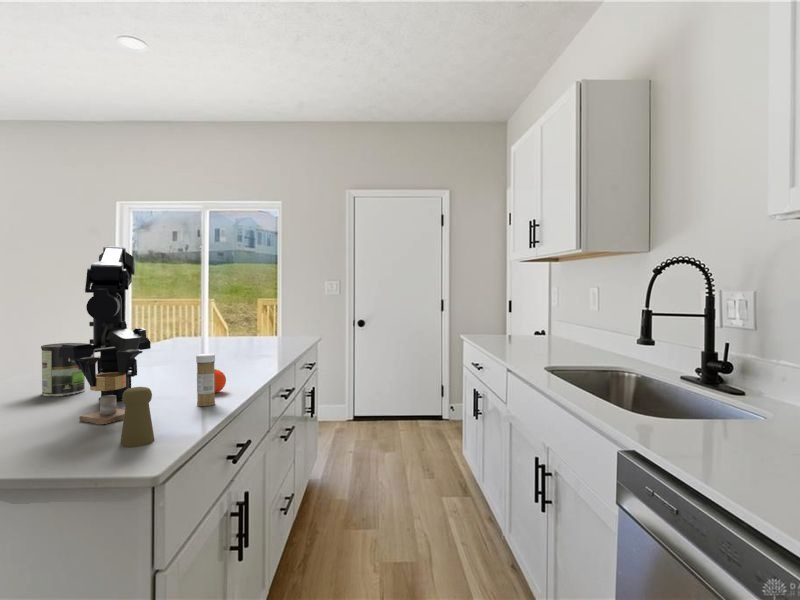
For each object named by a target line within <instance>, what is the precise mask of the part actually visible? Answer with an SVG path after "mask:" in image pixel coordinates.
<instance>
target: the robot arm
mask: <svg viewBox="0 0 800 600" xmlns="http://www.w3.org/2000/svg"><path fill="white" fill-rule="evenodd" d="M102 250H103V251H102V252H101V254H99V255H98V261H94V262H92V263H91V264H90V267H88V268H87V269H86V270H87V271H86V278H85V279H86V280H85V288H84V293H88V294H90V293H92V296H91V297H90V298H89V299H88V301H87V303H86V305H85V306H86V311H87V314H88V315H89V317H91V318H92V321H89V325H88V326H89V327H92V328H93V329H92V330H93V331H92V333H93V335H92V337H93V338H91V339H89V343H83V342H71V343H72V344H63V345H62V346H61V348H60V349H59V357H62V358H70V360H74V361H75V362H76V364H77V365H78V366H79V368H80V369H81V371H82V372H83V374H84V376H85V379H86V381H87V382H88V385H89V387H90V386H91V387H95V383H96V374H100V373H109V372H122V373H126V387H124V388H121V389H116V390H109V391H100V397H102V396H106V395H116V402H121V401H123V400H122V395H123V393H124V391H125V390H127V389H129V388H132V378H133V377H136V376H138V362H137V359H136V357H137V356H139V355H140V354H142V353H143V350H144V351H145V350H150V349H151V344H152V343H151V341H150V339H149V338H148V337H147V329H145V328H144V327H135V328H134V329H128V327H127V326H128V324H127V322H126V321H127V320H126V311H127V310H126V300H127V299H126V298H127V297H126V295H127V292H126V291H128V290H129V287H130V286H131V284H132V283H133V276H134V275H136V273H135V272H136V264H135V257H134V256H133V255H132V254H130V253H129V252H127V251H126V247H123V246H116V245H115V246H114V245H113V246H111V245H106V246H103V249H102ZM95 353H99V354H100V355H99V356H95ZM96 364H97V366H96ZM96 367H97V369H96ZM96 370H97V371H96ZM100 397H98V400H99V401H100Z"/></svg>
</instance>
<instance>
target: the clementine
mask: <svg viewBox="0 0 800 600" xmlns="http://www.w3.org/2000/svg"><path fill="white" fill-rule="evenodd" d="M214 371H215V394H216V393H218V392H220V391H222V390H223V389H224V388H225V386H226V383H227V382H226V381H227V379H226V375H225V373H224V372H223V371H221V370H220V369H217V368H214Z"/></svg>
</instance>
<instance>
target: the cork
mask: <svg viewBox="0 0 800 600" xmlns="http://www.w3.org/2000/svg"><path fill="white" fill-rule="evenodd" d="M152 398H153V394H152V390H151V389H150V388H149V387H146V386H136V387H135V386H134V387H131V388H129V389H127V390H125V391H124V393H123V395H122V400H121V401H122V403H123V404H124V405H125V408H124V409H125V413H124V420H122V421H123V422H122V428H121V435H120V436H121V437H120V443H119V445H121V446H120V447H122V446H123V448H138V447H143V446H146V445H150V444H152V443H153V442H154V441H155V434H154V428H153V423H152V422H153V421H152V415H151V409H150V402H151V400H152Z"/></svg>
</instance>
